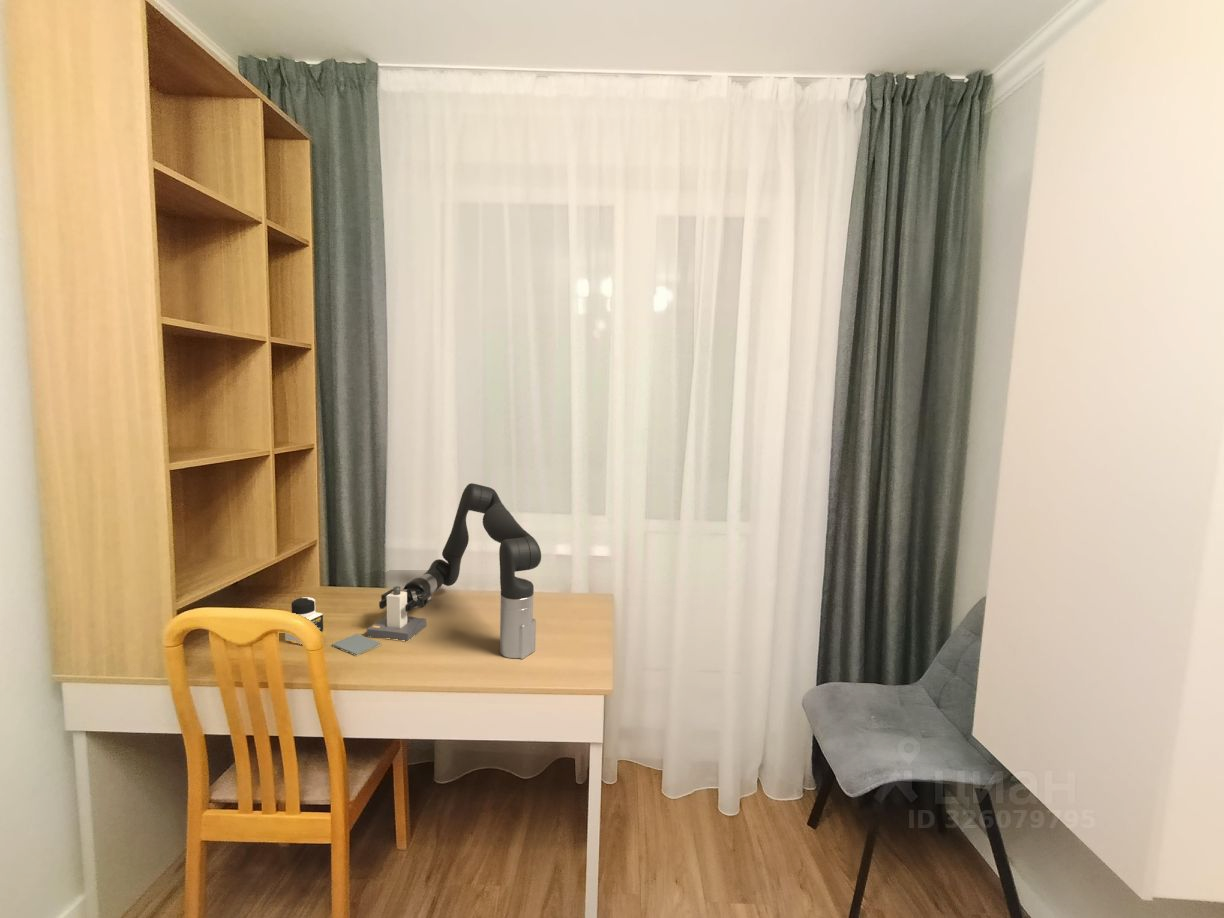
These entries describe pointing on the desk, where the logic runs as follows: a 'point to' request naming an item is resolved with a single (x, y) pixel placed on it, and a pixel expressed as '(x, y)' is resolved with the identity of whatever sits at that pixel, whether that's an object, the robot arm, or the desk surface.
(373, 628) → the socket block
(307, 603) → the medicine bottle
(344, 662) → the desk surface
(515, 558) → the robot arm
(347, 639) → the mat
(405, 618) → the plug
